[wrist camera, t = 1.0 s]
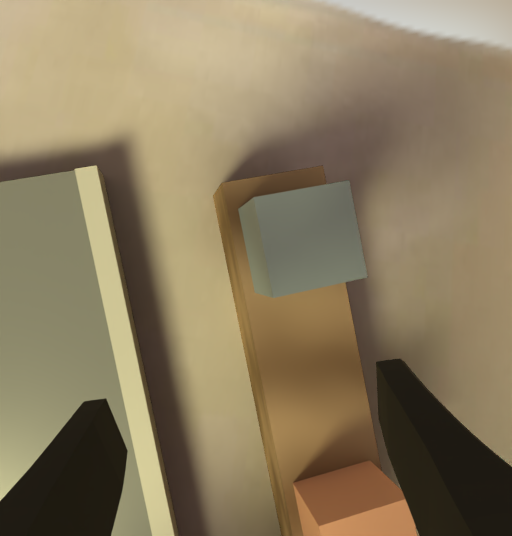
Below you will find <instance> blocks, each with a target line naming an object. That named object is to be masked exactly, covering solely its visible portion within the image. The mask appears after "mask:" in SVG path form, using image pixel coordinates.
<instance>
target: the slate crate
mask: <svg viewBox="0 0 512 536" xmlns="http://www.w3.org/2000/svg"><path fill="white" fill-rule="evenodd" d="M238 211H239V216H240V221H241V226H242V231H243V236H244V241H245V246H246V251H247V256H248V261H249V266H250V271H251V276H252V281H253V286H254V291H255V293H257V294H261V295H264V296H268V297H272V298H276V297H281V296H285V295H290V294H294V293H299V292H303V291H308V290H312V289H317V288H322V287H326V286H331V285H335V284H340V283H344V282H349V281H353V280H358V279H363V278H367V277H368V276H367V271H366V266H365V260H364V255H363V250H362V244H361V239H360V234H359V229H358V223H357V218H356V213H355V208H354V202H353V197H352V192H351V187H350V181H349V180H347V181H342V182H336V183H330V184H325V185H319V186H314V187H308V188H303V189H297V190H291V191H286V192H280V193H275V194H269V195H264V196H258V197H253V198H252V199H251V200H249V201H248V202H247V203H246V204H244V205H243V206H242V207H240V208H239V209H238Z"/></svg>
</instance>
